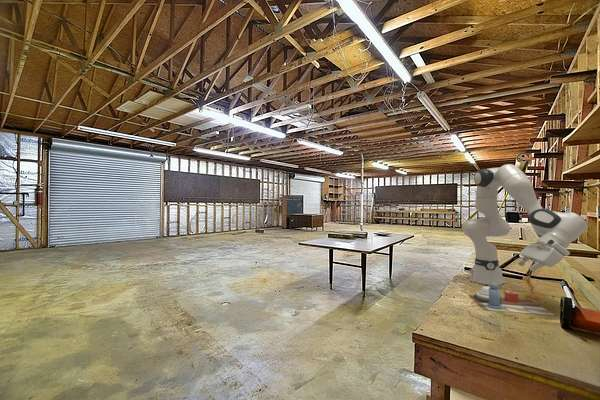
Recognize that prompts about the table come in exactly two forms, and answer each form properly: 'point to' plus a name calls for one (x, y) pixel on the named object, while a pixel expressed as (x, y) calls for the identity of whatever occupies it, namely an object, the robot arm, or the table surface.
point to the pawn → (494, 297)
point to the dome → (483, 293)
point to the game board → (513, 306)
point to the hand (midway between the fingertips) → (525, 267)
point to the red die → (511, 296)
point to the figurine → (533, 294)
